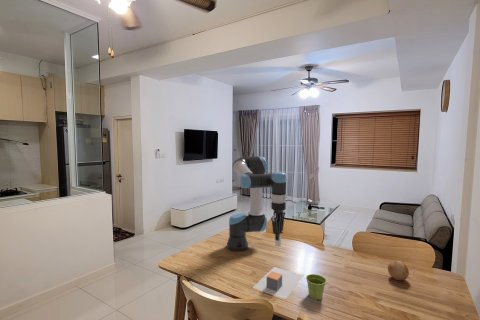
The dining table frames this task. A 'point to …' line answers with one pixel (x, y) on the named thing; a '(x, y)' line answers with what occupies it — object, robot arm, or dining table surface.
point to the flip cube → (274, 281)
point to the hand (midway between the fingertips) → (277, 245)
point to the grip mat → (287, 283)
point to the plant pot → (315, 285)
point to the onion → (398, 270)
